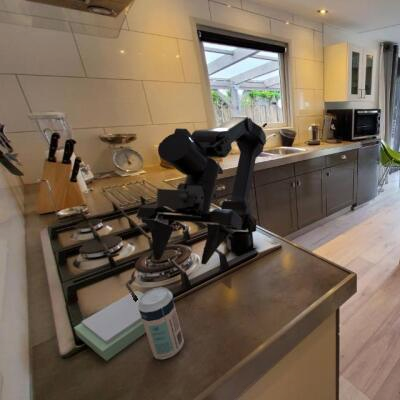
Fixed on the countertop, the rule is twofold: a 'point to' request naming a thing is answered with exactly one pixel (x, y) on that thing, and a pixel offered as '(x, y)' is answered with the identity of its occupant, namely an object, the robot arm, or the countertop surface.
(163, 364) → the countertop surface
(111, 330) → the kitchen scale
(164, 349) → the white canister
